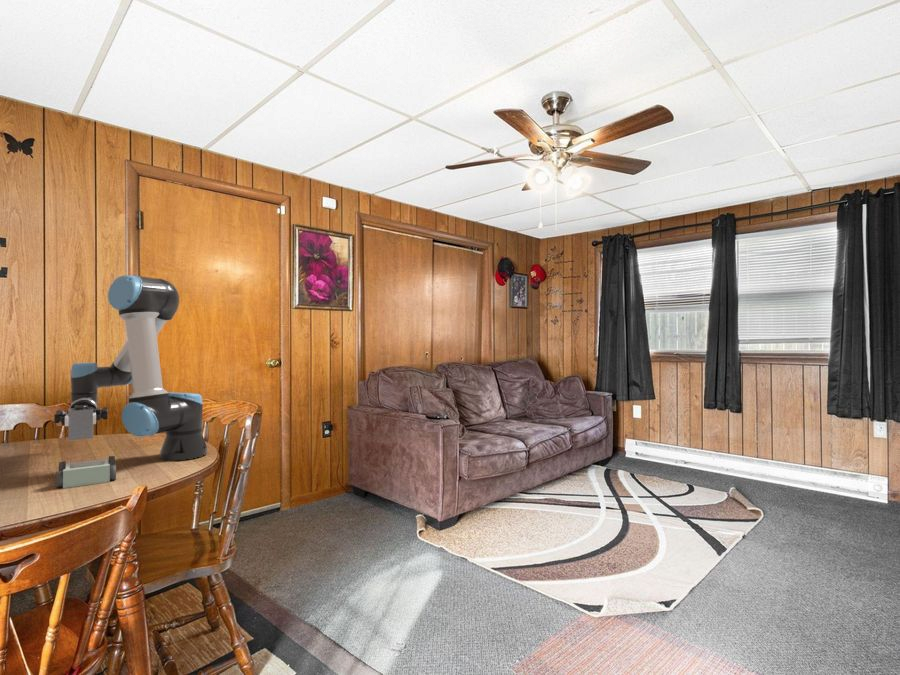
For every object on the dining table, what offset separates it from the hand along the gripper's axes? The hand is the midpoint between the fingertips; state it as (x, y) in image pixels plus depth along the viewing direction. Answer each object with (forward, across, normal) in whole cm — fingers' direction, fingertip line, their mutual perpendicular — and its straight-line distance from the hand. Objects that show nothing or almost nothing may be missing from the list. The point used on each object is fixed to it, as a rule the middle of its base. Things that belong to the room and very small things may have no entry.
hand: (80, 420), depth 147 cm
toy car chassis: (-2, -2, -18) cm, 18 cm away
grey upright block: (-5, 0, -6) cm, 8 cm away
